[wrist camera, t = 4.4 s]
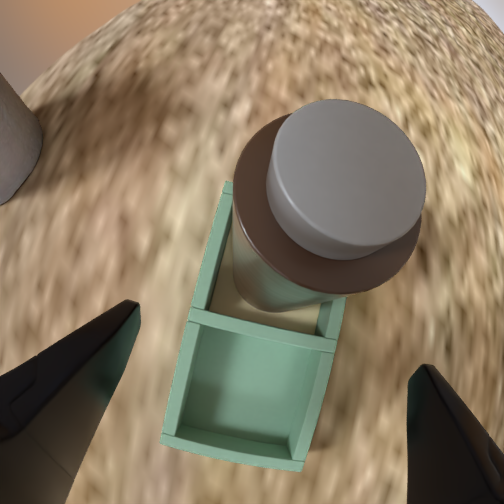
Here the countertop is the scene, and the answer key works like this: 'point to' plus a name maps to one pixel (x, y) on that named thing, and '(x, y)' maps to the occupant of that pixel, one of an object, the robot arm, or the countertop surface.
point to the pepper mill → (324, 206)
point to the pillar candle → (16, 141)
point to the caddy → (248, 367)
